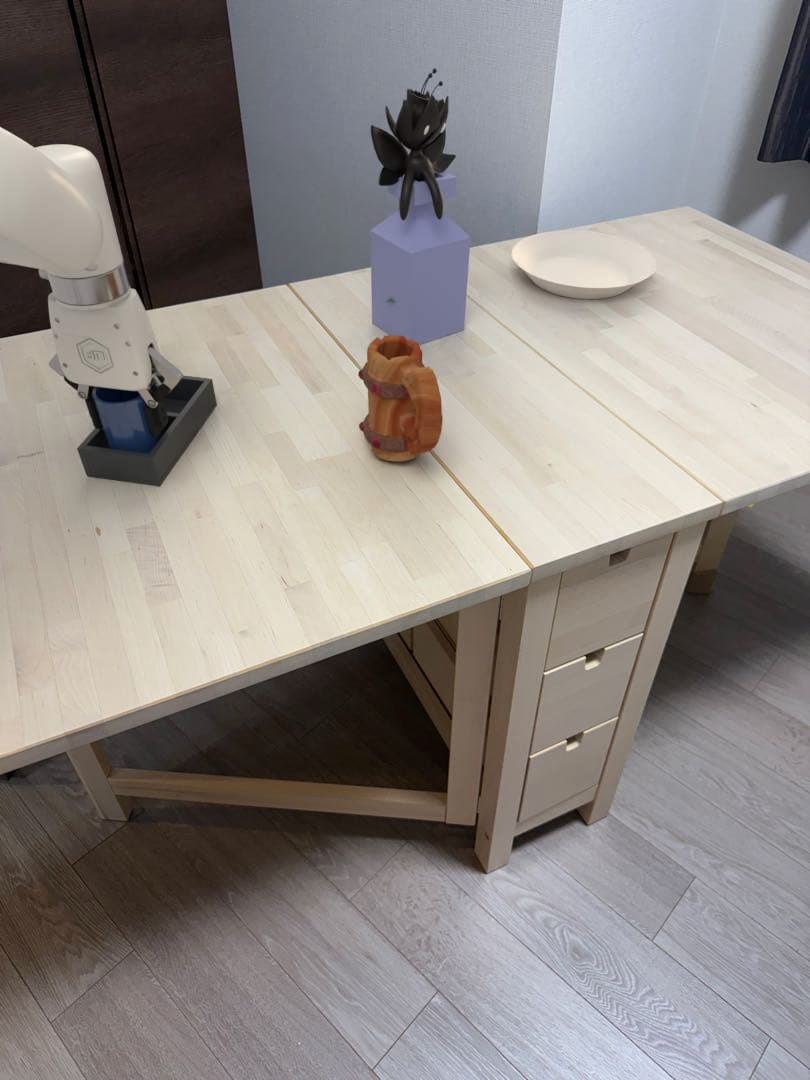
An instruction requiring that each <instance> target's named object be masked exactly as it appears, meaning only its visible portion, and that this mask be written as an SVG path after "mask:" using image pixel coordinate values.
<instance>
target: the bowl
mask: <svg viewBox="0 0 810 1080" xmlns="http://www.w3.org/2000/svg"><path fill="white" fill-rule="evenodd" d="M511 258H512V260H513V261H514V263H515V264H516V266H517V267H519V269H522V271H523V272H524V273H525V274H526V275H527V276H528V278H529V279H530V280H531V281H532V282H533V283H534V284H535V285H536V286H537V287H538V288H540V289H542V290H545V291H546V292H547V293H550V294H554V295H557V296H561V297H564V298H570V299H578V300H602V299H608V298H609V299H610V298H613V297H616V296H619V295H621V294H623V293H625V292H626V291H628V290H630V289H631V288H632V287H634V286H636V285H637V284H639V283H641V282H643V281H645V280H646V279H649V277H651V276H652V275H653V274H654V273H655V272H656V270H657V267H658V266H657V263H658V262H657V259H656V258H655V256H654V255H653V254H652V253H651V252H650V251H649V250H648V249H646V248H645V247H643V246H642V245H640V244H638V243H636V242H633V241H631V240H629V239H626V238H623V237H620V236H617V235H613V234H609V233H603V232H597V231H590V230H576V229H575V230H573V229H569V230H568V229H566V230H562V229H561V230H552V231H551V230H550V231H544V232H539V233H535V234H532V235H529V236H527V237H524V238H523V239H521V240H519V241H518V242H517V243H516V244H515V245H514V246H513V248H512V250H511Z"/></svg>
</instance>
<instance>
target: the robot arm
mask: <svg viewBox="0 0 810 1080" xmlns="http://www.w3.org/2000/svg"><path fill="white" fill-rule="evenodd" d="M109 201H110V200H109V197H108V193H107V190H106V185H105V181H104V177H103V173H102V169H101V167H100V163H99V161H98V159H97V157H96V156H95V155H94V154H93V153H92V152H91V151H90V150H88V149H87V148H85V147H84V146H83V147H82V146H78V145H74V144H66V143H65V144H63V143H62V144H59V143H58V144H57V143H55V144H47V145H41V146H36V147H34V146H33V145H31V144H30V143H28V142H27V141H25V140H23V139H22V138H20V137H19V136H16V135H15V134H14V133H12V132H10V131H9V130H6V129H5V128H3V127H1V126H0V263H2V264H8V265H16V266H21V267H26V268H31V269H38V275H39V277H40V278H41V279H42V280H43V279H44V280H47V281H49V284H50V288H51V290H52V292H50V293H49V294H48V296H47V304H48V305H47V306H48V315H49V316H48V317H49V323H50V329H51V334H52V338H53V341H54V342H53V343H54V346H55V351H56V353H55V354H54V355H53V356H52V358H51V359H50V360H49V361H48V366H49V367H50V368H51V369H52V370H53V371H54V372H55V373H57V374H58V375H59V376H60V377H63V380H64V382H66V384H68V385H69V386H70V387H71V388H72V389H74V390H75V391H77V392H76V394H77V397H78V398H80V399H81V400H84V402H85V405H86V408H87V411H88V414H89V417H90V418H91V421H92V425H93V427H94V429H101V428H102V425H101V422H100V419H99V416H98V413H97V410H96V407H95V403H94V400H93V397H92V391H93V388H94V387H103V388H111V389H120V390H129V391H138V392H139V394H140V395H141V396H142V398H143V399H144V401H145V402H146V403H147V405H146V406H145V407H144V412H145V416H146V420H147V423H148V427H149V431H150V434H151V435H152V436H156V437H157V436H158V435H159V434H160V432H161V431H162V430H163V428H164V427H165V426H166V425H167V423H168V415H167V411H166V407H165V403H164V398H165V397H166V396H167V395H168V394H169V392H170V391H171V390H172V389H173V388H174V387H175V386H176V385H177V383H178V382H179V381H180V380H181V379H182V377H183V375H184V374H183V372H182V371H181V370H180V369H179V368H178V367H176V365H174V364H173V363H171V361H169V360H168V359H166V358H165V356H163V354H161V352H160V348H159V345H158V342H157V339H156V336H155V332H154V328H153V327H152V323H151V321H150V318H149V316H148V312H147V310H146V308H145V306H144V304H143V302H142V299H141V297H140V295H139V293H138V292H137V290H136V289H135V288H131V285H130V281H129V277H128V272H127V269H126V264H125V260H124V257H123V253H122V249H121V245H120V241H119V237H118V233H117V227H116V225H115V221H114V216H113V212H112V210H111V209H112V208H111V205H110V202H109ZM155 373H160V374H161V375H162V376H163V377H164V382H163V383H162V384H161V382H160V381H159V379H158V378H157V376H156V375H155ZM148 385H150V387H151V388H152V390H153V391H154V392H153V393H152V391H151V390H150V389H149V387H148Z"/></svg>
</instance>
